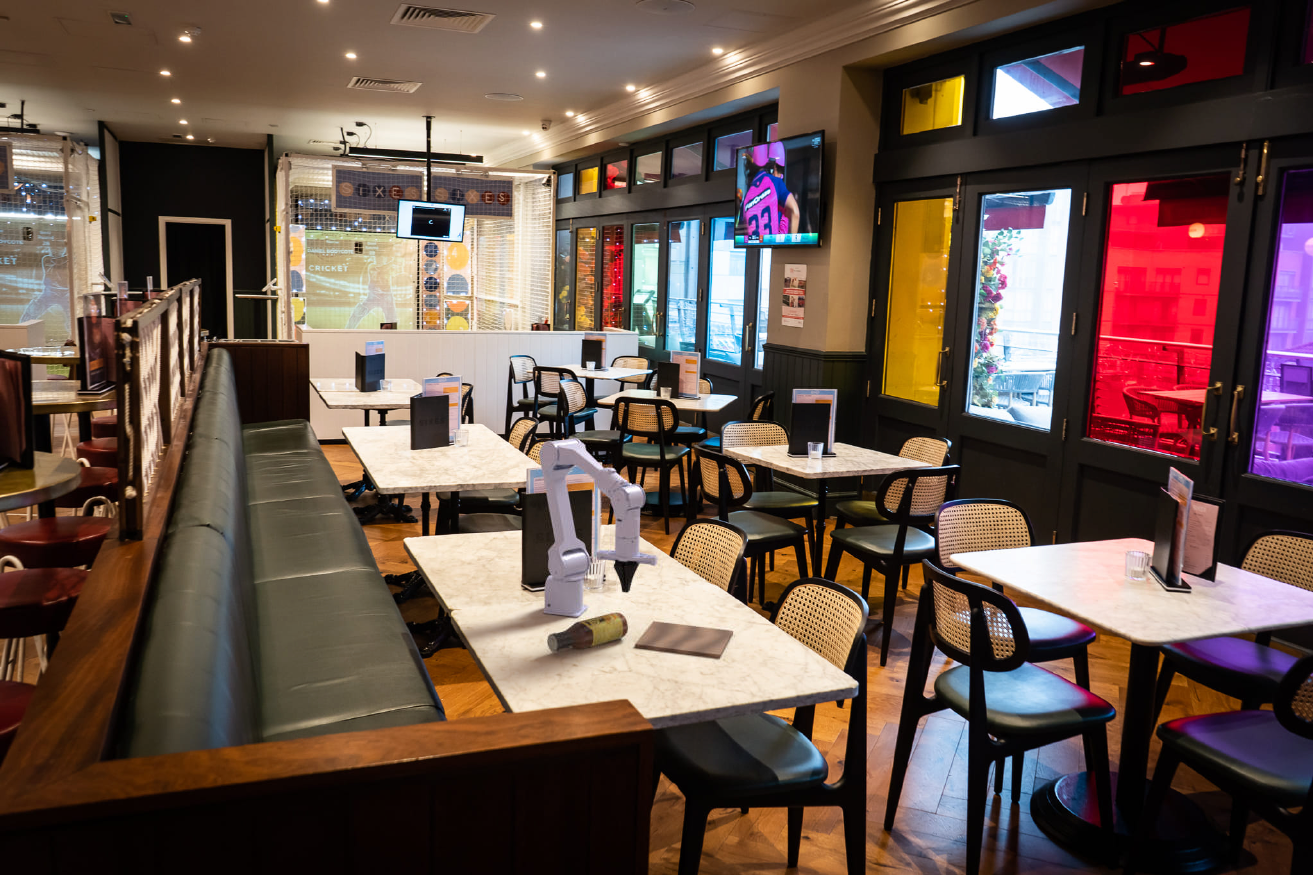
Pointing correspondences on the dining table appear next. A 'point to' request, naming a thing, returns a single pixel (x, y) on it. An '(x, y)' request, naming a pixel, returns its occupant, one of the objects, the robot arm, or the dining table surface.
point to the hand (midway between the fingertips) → (626, 591)
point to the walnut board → (685, 639)
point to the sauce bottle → (590, 632)
